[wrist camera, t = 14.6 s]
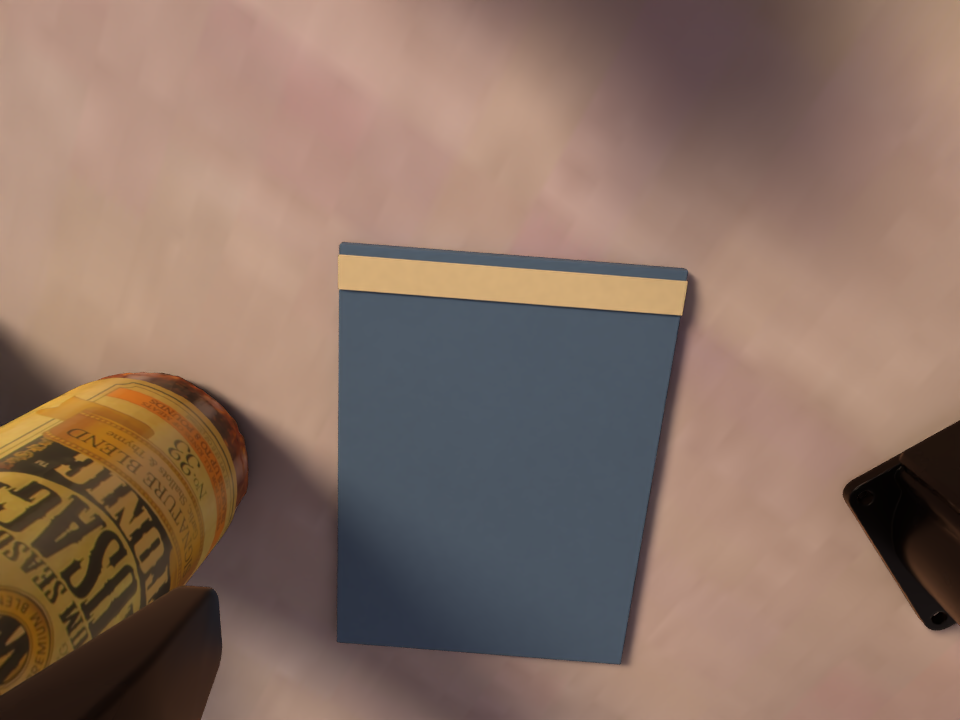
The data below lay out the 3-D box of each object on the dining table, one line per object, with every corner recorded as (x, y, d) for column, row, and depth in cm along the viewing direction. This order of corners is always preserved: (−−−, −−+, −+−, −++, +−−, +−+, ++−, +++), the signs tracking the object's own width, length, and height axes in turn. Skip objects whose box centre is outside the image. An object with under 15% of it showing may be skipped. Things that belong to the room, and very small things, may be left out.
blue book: (685, 267, 19) (689, 271, 19) (618, 656, 24) (621, 667, 23) (342, 241, 19) (338, 244, 19) (339, 634, 24) (335, 644, 23)
